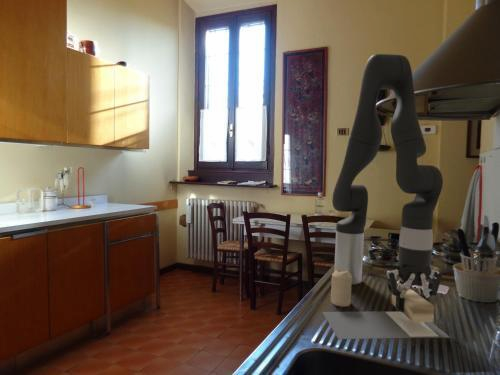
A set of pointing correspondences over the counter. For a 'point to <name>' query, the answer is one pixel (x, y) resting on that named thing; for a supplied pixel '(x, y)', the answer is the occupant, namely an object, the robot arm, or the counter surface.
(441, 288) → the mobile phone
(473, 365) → the counter surface
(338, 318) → the mat
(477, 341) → the counter surface
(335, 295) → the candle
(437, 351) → the counter surface
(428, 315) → the cream block
